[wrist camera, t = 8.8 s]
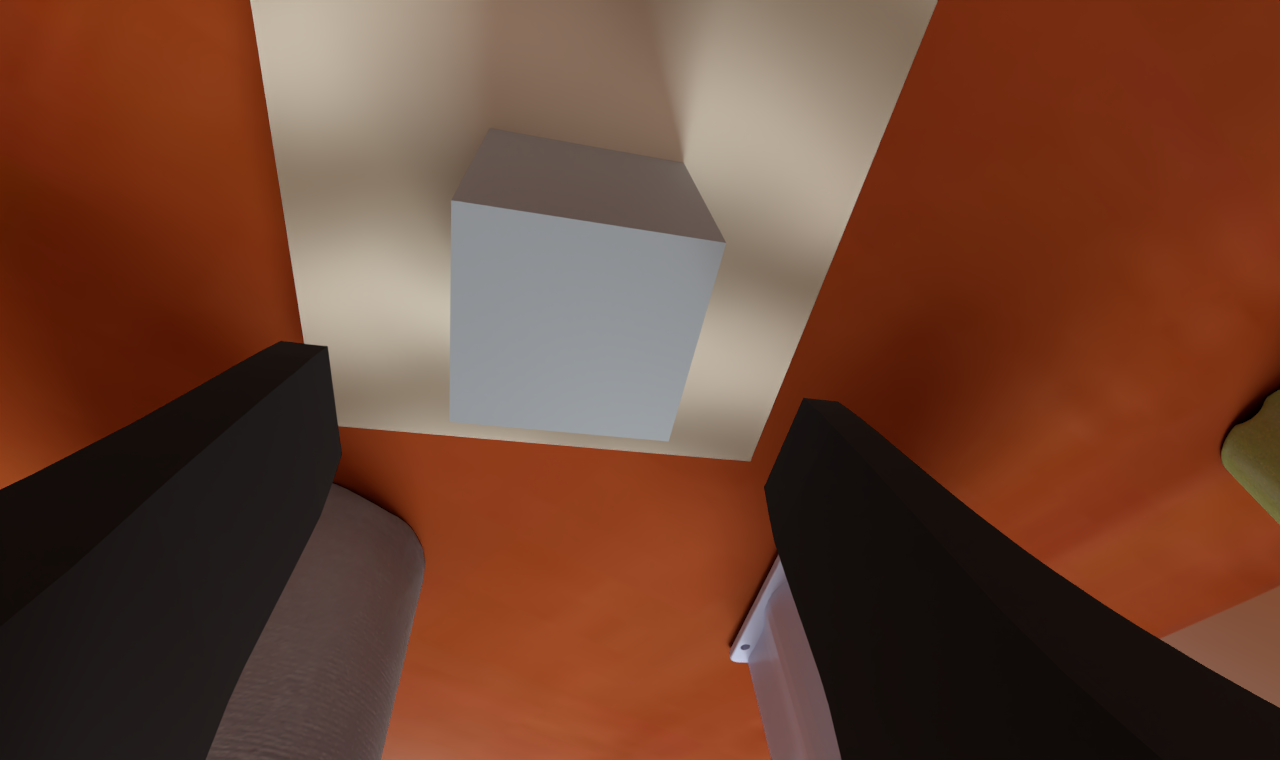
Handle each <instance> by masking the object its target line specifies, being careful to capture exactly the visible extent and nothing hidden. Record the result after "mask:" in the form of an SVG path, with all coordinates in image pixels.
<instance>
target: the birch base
mask: <svg viewBox="0 0 1280 760" xmlns="http://www.w3.org/2000/svg"><path fill="white" fill-rule="evenodd" d="M937 1H938V0H250V2H251V8H252V14H253V21H254V27H255V33H256V40H257V46H258V53H259V59H260V65H261V72H262V78H263V84H264V91H265V97H266V103H267V110H268V116H269V123H270V129H271V135H272V142H273V148H274V154H275V161H276V167H277V173H278V180H279V186H280V193H281V199H282V205H283V212H284V218H285V224H286V231H287V237H288V243H289V250H290V256H291V263H292V269H293V275H294V282H295V288H296V294H297V301H298V307H299V313H300V320H301V326H302V333H303V339H304V344H311V345H320V346H328V352H329V360H330V367H331V375H332V383H333V390H334V398H335V406H336V413H337V421H338V426H343V427H354V428H366V429H378V430H389V431H401V432H413V433H424V434H436V435H448V436H459V437H471V438H483V439H494V440H506V441H518V442H529V443H541V444H553V445H564V446H576V447H588V448H600V449H611V450H623V451H635V452H646V453H658V454H670V455H681V456H693V457H705V458H716V459H728V460H740V461H751V458H752V456H753V453H754V451H755V448H756V446H757V443H758V441H759V438H760V436H761V434H762V431H763V429H764V426H765V424H766V421H767V419H768V416H769V414H770V411H771V409H772V407H773V404H774V402H775V399H776V397H777V394H778V392H779V389H780V387H781V384H782V382H783V380H784V377H785V375H786V372H787V370H788V367H789V365H790V362H791V360H792V357H793V355H794V353H795V350H796V348H797V345H798V343H799V340H800V338H801V335H802V333H803V330H804V328H805V325H806V323H807V321H808V318H809V316H810V313H811V311H812V308H813V306H814V303H815V301H816V298H817V296H818V294H819V291H820V289H821V286H822V284H823V281H824V279H825V276H826V274H827V271H828V269H829V267H830V264H831V262H832V259H833V257H834V254H835V252H836V249H837V247H838V244H839V242H840V239H841V237H842V235H843V232H844V230H845V227H846V225H847V222H848V220H849V217H850V215H851V212H852V210H853V208H854V205H855V203H856V200H857V198H858V195H859V193H860V190H861V188H862V185H863V183H864V181H865V178H866V176H867V173H868V171H869V168H870V166H871V163H872V161H873V158H874V156H875V154H876V151H877V149H878V146H879V144H880V141H881V139H882V136H883V134H884V131H885V129H886V126H887V124H888V122H889V119H890V117H891V114H892V112H893V109H894V107H895V104H896V102H897V99H898V97H899V95H900V92H901V90H902V87H903V85H904V82H905V80H906V77H907V75H908V72H909V70H910V68H911V65H912V63H913V60H914V58H915V55H916V53H917V50H918V48H919V45H920V43H921V40H922V38H923V36H924V33H925V31H926V28H927V26H928V23H929V21H930V18H931V16H932V13H933V11H934V9H935V6H936V4H937ZM490 128H492V129H498V130H503V131H509V132H514V133H520V134H526V135H531V136H537V137H542V138H548V139H554V140H559V141H565V142H570V143H576V144H581V145H587V146H593V147H598V148H604V149H609V150H615V151H620V152H626V153H632V154H637V155H643V156H648V157H654V158H660V159H665V160H671V161H676V162H682V163H684V164H685V166H686V168H687V170H688V172H689V174H690V176H691V177H692V179H693V181H694V183H695V185H696V187H697V189H698V191H699V192H700V194H701V196H702V198H703V200H704V202H705V204H706V206H707V208H708V209H709V211H710V213H711V215H712V217H713V219H714V221H715V223H716V224H717V226H718V228H719V230H720V232H721V234H722V236H723V238H724V240H725V241H726V246H725V249H724V253H723V256H722V259H721V263H720V266H719V270H718V273H717V277H716V280H715V284H714V287H713V290H712V294H711V297H710V301H709V304H708V308H707V311H706V315H705V318H704V321H703V325H702V328H701V332H700V335H699V339H698V342H697V345H696V349H695V352H694V356H693V359H692V363H691V366H690V370H689V373H688V376H687V380H686V383H685V387H684V390H683V394H682V397H681V401H680V404H679V407H678V411H677V414H676V418H675V421H674V425H673V428H672V432H671V435H670V438H669V441H658V440H647V439H635V438H624V437H613V436H602V435H590V434H579V433H568V432H557V431H546V430H534V429H523V428H512V427H501V426H489V425H478V424H467V423H456V422H449V409H450V289H451V200H452V198H453V196H454V194H455V192H456V190H457V188H458V187H459V185H460V183H461V181H462V179H463V177H464V175H465V174H466V172H467V170H468V168H469V166H470V164H471V162H472V161H473V159H474V157H475V155H476V153H477V151H478V149H479V147H480V146H481V144H482V142H483V140H484V138H485V136H486V134H487V133H488V131H489V129H490Z"/></svg>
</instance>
